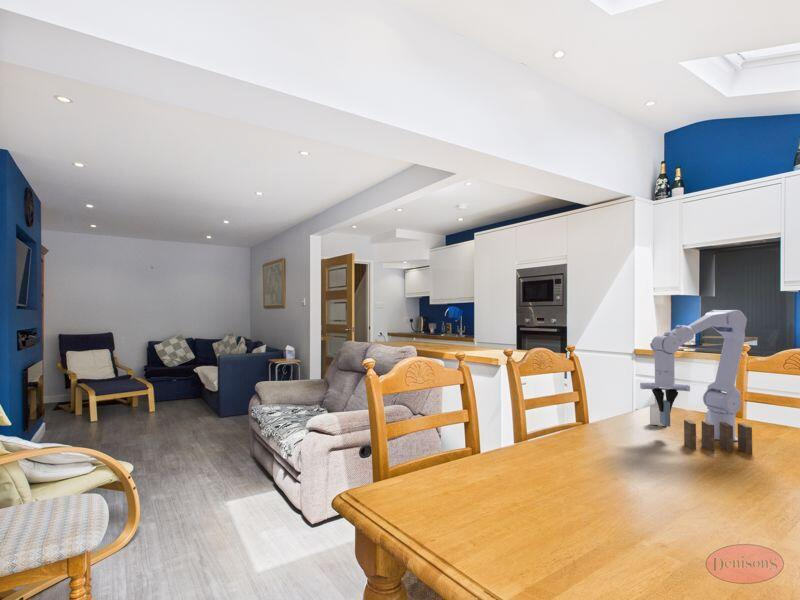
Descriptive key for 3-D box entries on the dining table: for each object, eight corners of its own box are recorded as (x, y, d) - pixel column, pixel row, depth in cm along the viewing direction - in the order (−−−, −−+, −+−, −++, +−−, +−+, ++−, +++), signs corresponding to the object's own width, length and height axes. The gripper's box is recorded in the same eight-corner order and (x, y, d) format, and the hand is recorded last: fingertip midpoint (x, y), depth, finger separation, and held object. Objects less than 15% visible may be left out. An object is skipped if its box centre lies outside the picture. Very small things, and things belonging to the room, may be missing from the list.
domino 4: (727, 451, 132) (726, 425, 132) (719, 447, 137) (719, 421, 137) (733, 452, 132) (732, 426, 132) (725, 447, 137) (725, 422, 137)
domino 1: (665, 426, 143) (664, 402, 143) (659, 422, 148) (659, 399, 148) (670, 426, 142) (670, 402, 143) (665, 423, 147) (664, 399, 147)
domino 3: (708, 450, 133) (708, 424, 134) (701, 445, 138) (701, 420, 138) (714, 450, 133) (714, 425, 133) (707, 446, 138) (707, 421, 138)
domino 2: (690, 449, 135) (690, 423, 135) (684, 444, 140) (683, 419, 140) (696, 449, 134) (695, 423, 135) (689, 444, 139) (689, 420, 139)
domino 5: (746, 453, 131) (745, 427, 131) (737, 448, 136) (737, 423, 136) (752, 453, 130) (751, 427, 131) (743, 448, 135) (743, 423, 136)
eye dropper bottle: (663, 427, 160) (663, 395, 160) (648, 424, 164) (647, 393, 165) (669, 426, 162) (668, 394, 163) (653, 422, 167) (653, 392, 167)
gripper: (644, 371, 143) (644, 412, 143) (693, 373, 140) (694, 415, 139) (638, 369, 150) (638, 408, 150) (685, 370, 147) (685, 410, 146)
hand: (664, 411), depth 145 cm, fingers closed on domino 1, 1 cm apart
